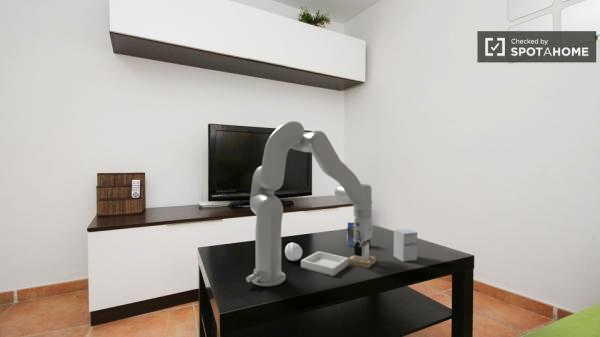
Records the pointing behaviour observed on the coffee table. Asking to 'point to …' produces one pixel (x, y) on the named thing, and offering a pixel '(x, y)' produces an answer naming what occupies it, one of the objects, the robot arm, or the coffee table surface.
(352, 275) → the coffee table surface
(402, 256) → the supplement box
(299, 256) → the white grooved ball
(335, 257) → the parts tray
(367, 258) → the grey white rectangular block
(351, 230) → the label tape cartridge
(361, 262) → the tan wooden flat frame
